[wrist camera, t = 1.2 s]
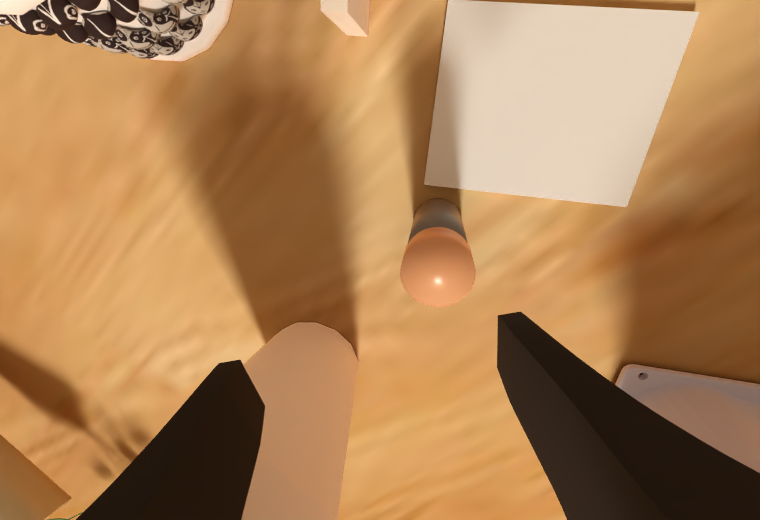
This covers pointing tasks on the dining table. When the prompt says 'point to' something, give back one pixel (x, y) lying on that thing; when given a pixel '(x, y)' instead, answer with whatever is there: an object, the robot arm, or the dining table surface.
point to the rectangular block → (348, 15)
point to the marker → (437, 256)
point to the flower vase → (26, 488)
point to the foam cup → (302, 423)
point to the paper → (551, 97)
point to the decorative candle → (125, 24)
